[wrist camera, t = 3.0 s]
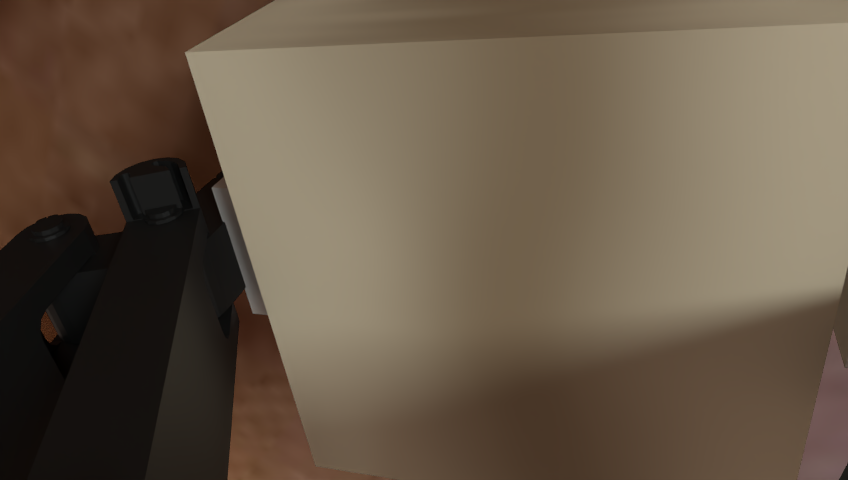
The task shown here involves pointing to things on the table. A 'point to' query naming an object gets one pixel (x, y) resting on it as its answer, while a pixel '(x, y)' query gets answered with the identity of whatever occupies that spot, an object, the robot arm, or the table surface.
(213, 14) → the table surface
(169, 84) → the table surface
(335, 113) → the birch cube
